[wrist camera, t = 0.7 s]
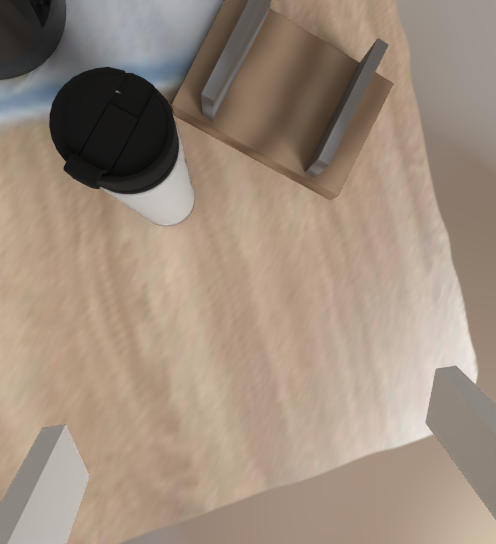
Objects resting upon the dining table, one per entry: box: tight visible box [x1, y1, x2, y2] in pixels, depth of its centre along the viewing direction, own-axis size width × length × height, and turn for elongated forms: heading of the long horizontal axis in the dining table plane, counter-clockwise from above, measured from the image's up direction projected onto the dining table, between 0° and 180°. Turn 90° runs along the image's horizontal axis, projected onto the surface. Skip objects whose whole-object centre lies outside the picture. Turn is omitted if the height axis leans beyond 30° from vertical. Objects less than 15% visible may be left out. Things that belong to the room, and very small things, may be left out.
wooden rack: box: [172, 0, 394, 200], centre depth 34 cm, size 20×14×7 cm
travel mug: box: [49, 67, 195, 226], centre depth 26 cm, size 6×7×20 cm
